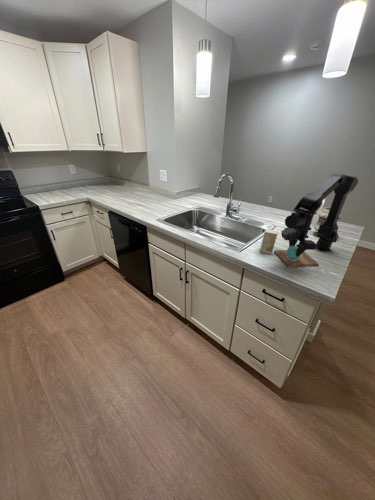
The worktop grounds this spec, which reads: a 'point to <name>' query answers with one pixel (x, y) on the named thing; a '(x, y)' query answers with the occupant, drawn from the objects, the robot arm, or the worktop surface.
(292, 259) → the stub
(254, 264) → the worktop surface
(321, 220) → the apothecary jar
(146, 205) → the worktop surface
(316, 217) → the milk carton
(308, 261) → the walnut board
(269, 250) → the skincare box
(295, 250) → the cap
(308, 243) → the robot arm
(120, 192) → the worktop surface
